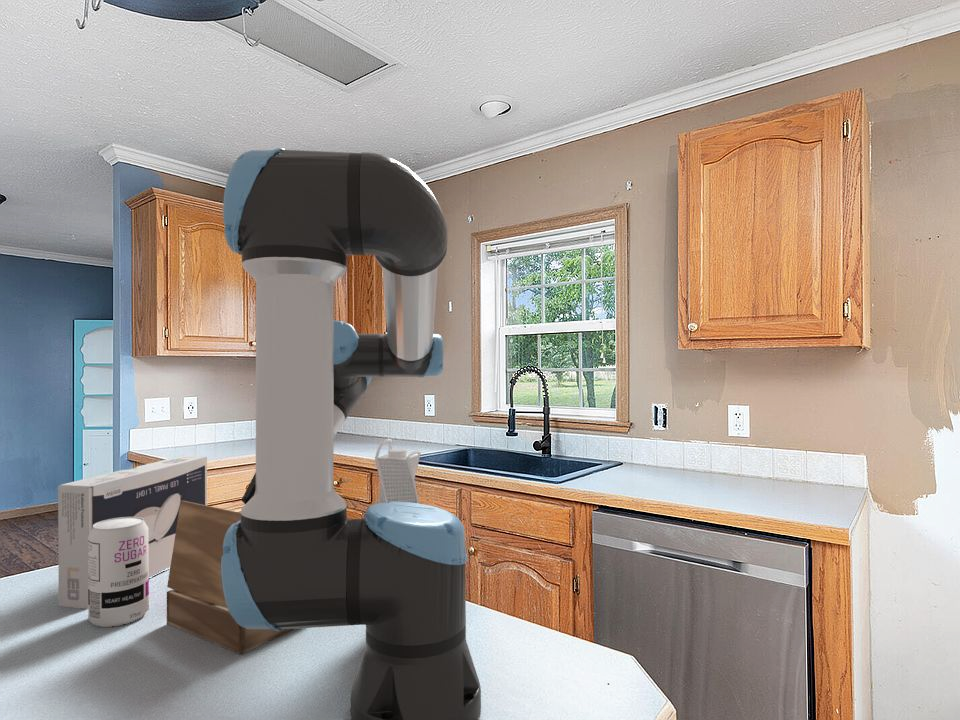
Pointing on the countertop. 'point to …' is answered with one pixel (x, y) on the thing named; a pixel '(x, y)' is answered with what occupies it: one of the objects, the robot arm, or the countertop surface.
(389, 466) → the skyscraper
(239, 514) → the lid
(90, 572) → the supplement can
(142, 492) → the packaging
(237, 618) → the robot arm
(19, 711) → the countertop surface
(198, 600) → the box
